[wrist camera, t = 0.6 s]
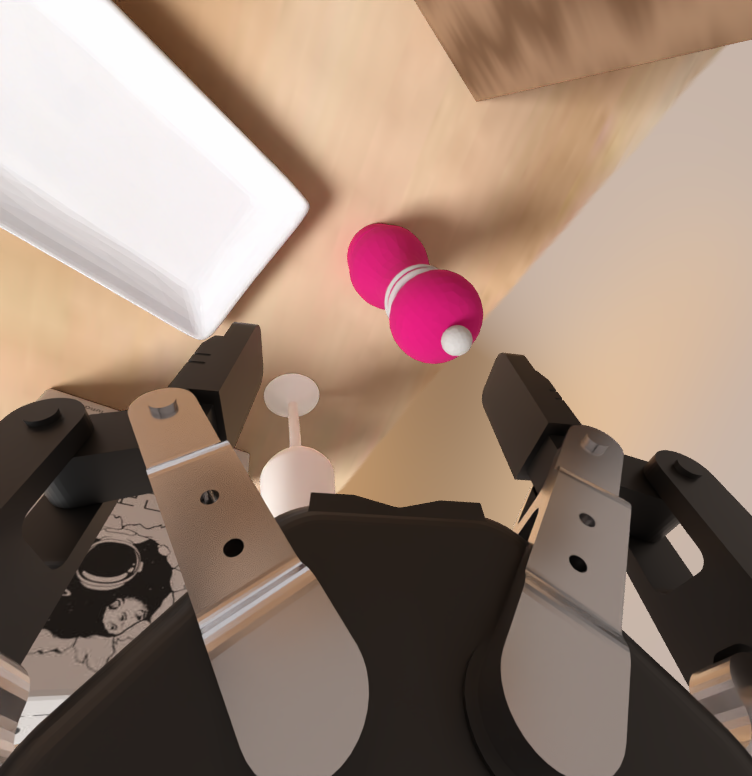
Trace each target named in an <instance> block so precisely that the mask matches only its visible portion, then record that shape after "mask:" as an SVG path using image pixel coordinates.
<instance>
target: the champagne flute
mask: <svg viewBox="0 0 752 776" xmlns="http://www.w3.org/2000/svg"><path fill="white" fill-rule="evenodd" d="M318 400H319V389H318V387H317V385H316V384H315V382H314V381H313V380H311V379H310V378H308V377H306V376H304V375H301V374H293V373H291V374H284V375H281V376H279V377H276V378H275V379H273V380H272V381H271V382H270V383H269V384H268V385H267V387H266V388H265V391H264V401H265V404H266V406H267V407H268V408H269V410H271V411H272V412H273V413H275V414H277V415H279V416H282V417H288V420H289V439H290V447H289V448H286V449H284V450H281V451H280V452H278V453H277V454H276V455H274V456H273V457H272V458H271V459H270V460H269V461H268V462H267V464H266V465H265V467H264V468H263V470H262V473H261V476H260V491H261V497H262V498H263V500H264V502H265V503H266V505H267V507H268V508H269V510H270V512H271V513H272V515H273V517H274V518H275V517H277V516H278V515H280V514H283V513H285V512H287V511H290V510H293V509H296V508H300V507H305V506H309V502H310V495H311V492H315V493H330V494H335V480H334V469H333V466H332V464H331V462H330V461H329V460H328V458H326V457H325V456H324V455H323V454H322V453H321V452H319V451H317V450H315V449H313V448H310V447H306V446H302V445H301V434H300V423H299V416H303V415H305V414H307V413H308V412H310V411H311V410H312V409H313V408H314V407H315V406H316V405H317V403H318Z"/></svg>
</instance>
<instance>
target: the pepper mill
mask: <svg viewBox="0 0 752 776" xmlns="http://www.w3.org/2000/svg"><path fill="white" fill-rule="evenodd" d="M347 260H348V266H349V269H350V277H351V281H352V284H353V286H354V288H355V290H356V291H357V293H358V294H359V295H360V296H361V297H362V298H363V299H364V300H365V301H366V302H367V303H369V304H371V305H372V306H375V307H377V308H380V309H384V310H385V311H386V313H387V316H388V318H389V321H390V329H391V332H392V335H393V338H394V340H395V342H396V343H397V344H398V346H399V347H400V348H401V349H402V350H403V351H404V352H405V353H406V354H407V355H409V356H410V357H412V358H413V359H415V360H418V361H421V362H424V363H431V364H437V363H444V362H447V361H450V360H453V359H455V358H457V357H458V356H460V355H463V354H465V353H466V352H467V351H468V350H469V349H470V348H471V345H472V344H473V342H474V341H475V340H476V338H477V336H478V334H479V332H480V328H481V326H482V320H483V309H482V303H481V300H480V297H479V295H478V293H477V291H476V290H475V288H474V287H473V285H472V284H471V283H470V282H468V281H467V280H466V279H465V278H464V277H462V276H461V275H459V274H457V273H454V272H452V271H449V270H439V269H437V268H436V267H434V266H431V265H429V260H428V257H427V254H426V250H425V248H424V247H423V245H422V243H421V242H420V241H419V240H418V238H417V237H416V236H415V235H414V234H413V233H411V232H410V231H409V230H407V229H405V228H403V227H399V226H395V225H387V224H382V223H377V224H371V225H368V226H366V227H364V228H363V229H361V230H360V231H359V232H358V233H357V234H356V235H355V236H354V237H353V239H352V241H351V243H350V245H349V248H348V254H347Z"/></svg>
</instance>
